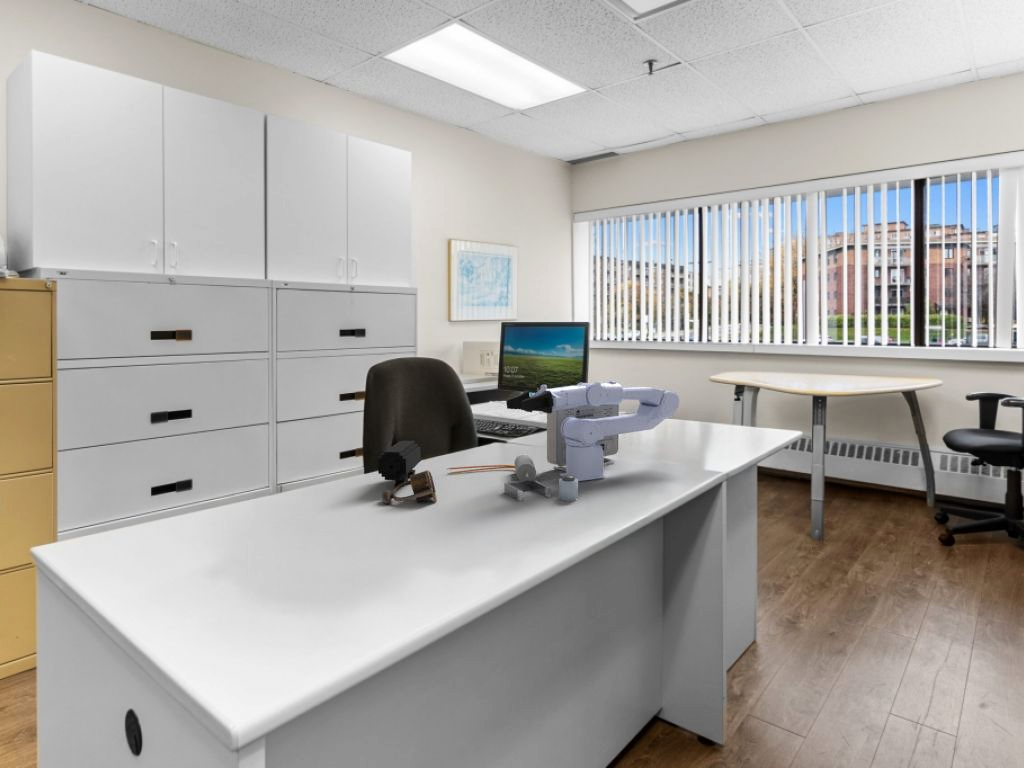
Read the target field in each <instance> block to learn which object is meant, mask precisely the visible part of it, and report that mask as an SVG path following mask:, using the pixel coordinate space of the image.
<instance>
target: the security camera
mask: <svg viewBox="0 0 1024 768" xmlns="http://www.w3.org/2000/svg"><path fill="white" fill-rule="evenodd" d="M415 442H416V440H399V441H398V442H397V443H395V444H394V445H392V446H391V447H389V448H387V449H386V450H385V451H384V452H383V453H382V454H380V456H379V457H378V458H377V467H378V468H377V473H378V475H381V478H384V481H394V483H393V487H394V488H396V487H397V486H399V485H400V484H402V483H404V482H407V481H409V479H410V476H411V475H414V474H416V469H414V468H416V467H417V465H419V463H420V462H421V461H422V460H421V459H422V458H421V457H422V456H421V454H422V453H421V452H422V451H421V449H422V448H421V446H418V445H419V444H418V443H415Z"/></svg>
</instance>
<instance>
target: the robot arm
mask: <svg viewBox="0 0 1024 768" xmlns="http://www.w3.org/2000/svg"><path fill="white" fill-rule="evenodd" d="M530 393H531V392H530V390H527V389H526V390H524V391H523V392H521V393H520V394H519V395H516V396H514V397H511V398H508V399H507V400H506V401H505V402H506V409H508V410H521V411H524V412H527V413H533V411H536V412H537V411H538V412H542V413H544V414H547V413H549V414H551V413H552V411H555V410H562V409H568V408H574V407H579V406H584V405H590V406H596V407H598V406H600V405H611V404H619V405H620V404H621V403H622V401H625V400H634V401H636V400H637V401H638V403H639V404H638V408H637V411H636V413H630V414H629V413H628V414H623V415H619V416H614V417H606V418H599V419H577V418H575V417H568V418H566V419H565V420H564V421H563V423H562V425H561V434H562V436H563V437H564V438H565V443H566V465H565V468H566V471H565V472H562V473H561V472H560V473H559V476H561V477H562V476H563V475H574V476H575V478H576V479H578V482H583V481H590V480H591V481H592V480H597V479H605V478H606V476H605V475H604V466H603V465H604V463H605V461H604V458H605V456H604V454H603V449H602V447H601V445H600V444H598V443H595V442H597V441H598V440H602V439H603V438H604V436H611V435H617V434H618V435H623V434H630V433H636V432H643V431H649V430H653V429H655V428H656V427H657V426H659V425H660V424H661V423H662V422H663V421H664V420H666V419H668V418H671V417H673V416H675V414H676V412H677V410H678V408H679V405H680V397H679V395H678V394H677V392H675V391H673V390H665V389H659V388H655V387H648V386H647V387H646V386H634V387H632V386H631V387H623V386H622V385H621V384H620V383H617V382H616V381H614V380H609V381H608V382H607V383H606V382H605V383H602V382H601V381H594V383H587V382H579V383H577V384H576V385H569V386H567V385H566V386H560V387H553V388H548V385H547V384H541V385H540V389H539V390H538V391H537V392H535V393H534V394H532V395H530Z"/></svg>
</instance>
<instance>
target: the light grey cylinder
mask: <svg viewBox="0 0 1024 768" xmlns="http://www.w3.org/2000/svg"><path fill="white" fill-rule="evenodd" d="M558 499H559V500H560V501H562V500H564V501H563V502H573V501H572V500H576V499H579V481H578V479H576V478H575V476H574V475H563V476H561V477H560V478H558ZM576 501H577V500H576Z"/></svg>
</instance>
